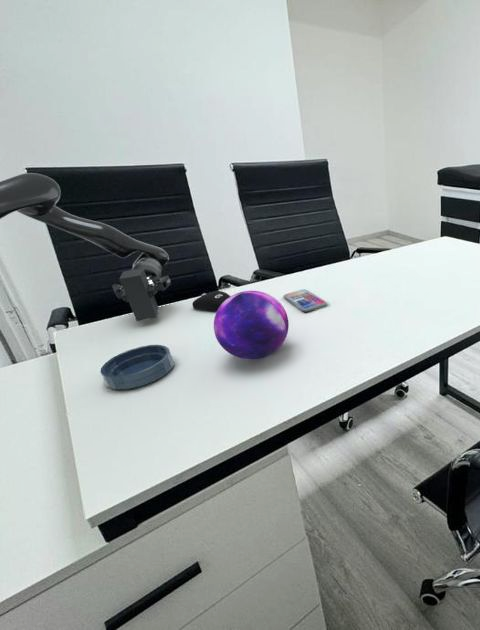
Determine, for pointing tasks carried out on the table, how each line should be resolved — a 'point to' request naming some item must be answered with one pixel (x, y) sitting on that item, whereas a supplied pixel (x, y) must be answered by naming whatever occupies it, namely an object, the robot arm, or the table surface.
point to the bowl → (137, 367)
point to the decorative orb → (251, 325)
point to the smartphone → (305, 300)
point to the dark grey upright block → (139, 294)
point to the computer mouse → (210, 301)
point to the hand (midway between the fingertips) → (138, 296)
